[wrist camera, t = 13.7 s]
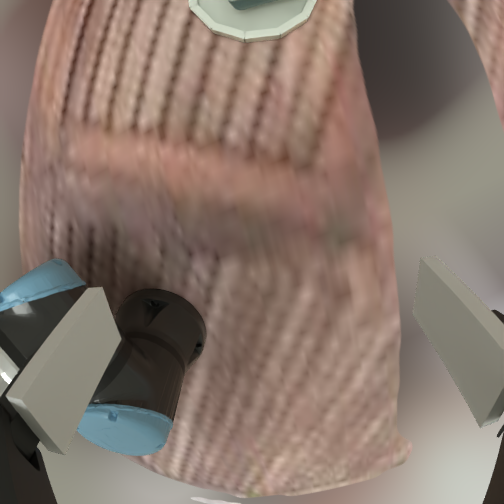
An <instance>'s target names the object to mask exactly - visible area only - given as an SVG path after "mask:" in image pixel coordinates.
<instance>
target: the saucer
mask: <svg viewBox="0 0 504 504" xmlns="http://www.w3.org/2000/svg"><path fill="white" fill-rule="evenodd" d="M188 1H189V7H190V9H191V10H192V12H193V13H194V14H195V15H196V16H197V17H198V18H199V19H200V20H201V21H202V22H203V23H204V24H205V25H206V26H207V27H208V28H209V29H210V30H211V31H212V32H213V33H214V34H218V35H221V36H224V37H228V38H231V39H234V40H237V41H240V42H244V43H245V41H246V43H250V42H257V41H265V40H274V39H279V38H282V37H283V36H285V35H287V34H288V33H290V32H291V31H293V30H294V29H296V28H298V27H299V26H301V25H302V24H304V23H306V21H307V20H308V18H309V16H310V14H311V11H312V9H313V7H314V5H315V3H316V1H317V0H277V1H273V2H269V3H265V4H262V5H258V6H255V7H251V8H248V9H245V10H237V9H235V8H234V7H233V6H232V5H231V4H230V3H229V1H228V0H188Z"/></svg>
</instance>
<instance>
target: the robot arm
mask: <svg viewBox="0 0 504 504" xmlns="http://www.w3.org/2000/svg"><path fill="white" fill-rule="evenodd" d="M413 316H414V318H415V319H416V321H417V322H418V323H419V325H420V327H421V328H422V330H423V331H424V333H425V334H426V336H427V337H428V339H429V341H430V342H431V344H432V345H433V347H434V348H435V350H436V352H437V353H438V355H439V357H440V358H441V360H442V361H443V363H444V365H445V366H446V368H447V370H448V371H449V373H450V375H451V376H452V378H453V380H454V381H455V383H456V385H457V387H458V389H459V390H460V392H461V394H462V396H463V397H464V399H465V401H466V403H467V404H468V406H469V408H470V410H471V412H472V413H473V415H474V417H475V419H476V421H477V423H478V425H479V427H480V428H482V427H485V426H487V425H489V424H492V423H494V422H496V421H498V420H499V418H500V416H501V415H502V413H503V411H504V315H503V314H502V313H500V312H498V311H497V310H490V309H489V308H488V307H487V306H486V305H485V304H484V303H483V302H482V300H481V299H480V298H479V297H478V296H477V295H476V294H475V293H474V292H473V291H472V290H471V289H470V288H469V287H468V286H467V285H466V284H465V283H464V282H463V281H462V280H461V279H460V278H459V277H457V276H456V274H455V273H453V272H452V271H451V270H450V269H449V268H448V267H447V266H446V265H445V264H444V263H443V262H442V261H441V260H439V258H438V257H436V256H432V257H423V258H420V265H419V274H418V281H417V288H416V295H415V302H414V308H413ZM205 339H206V329H205V325H204V322H203V320H202V318H201V316H200V314H199V313H198V312H197V310H196V309H195V308H194V307H193V306H192V305H191V304H190V303H189V302H187V301H186V300H185V299H183V298H181V297H180V296H178V295H176V294H173V293H171V292H168V291H164V290H159V289H145V290H141V291H137V292H135V293H133V294H131V295H130V296H129V297H128V298H126V300H125V301H124V302H123V304H122V305H121V307H120V308H119V310H118V312H117V315H116V318H115V321H114V318H113V316H112V313H111V310H110V307H109V304H108V302H107V299H106V296H105V293H104V290H103V287H94V288H88V287H87V286H86V282H85V281H82V280H81V278H80V277H79V276H78V275H77V274H76V273H75V271H74V270H73V269H72V268H71V267H70V265H69V264H68V263H67V262H66V261H64V260H62V259H51V260H49V261H47V262H45V263H43V264H41V265H40V266H38V267H36V268H35V269H33V270H31V271H30V272H28V273H27V274H25V275H24V276H22V277H21V278H19V279H18V280H16V281H15V282H14V283H12V284H11V285H9V286H8V287H7V288H5V289H4V290H3V291H2V292H0V504H57V502H56V499H55V496H54V493H53V490H52V487H51V484H50V481H49V478H48V475H47V472H46V468H45V465H44V461H43V458H42V455H41V452H40V450H39V449H38V448H37V445H38V443H39V441H41V442H42V444H43V445H44V446H45V447H46V448H47V450H48V451H51V452H55V453H58V454H62V455H65V454H66V452H67V449H68V447H69V445H70V443H71V441H72V438H73V436H74V434H75V432H76V430H77V431H78V432H79V433H80V434H81V435H82V436H83V437H84V438H86V439H88V440H89V441H90V442H92V443H94V444H96V445H98V446H100V447H102V448H104V449H107V450H110V451H113V452H116V453H121V454H125V455H134V456H143V455H150V454H153V453H155V452H158V451H159V450H161V449H162V448H163V447H164V445H165V443H166V441H167V438H168V435H169V432H170V430H171V429H172V427H173V420H174V416H175V412H176V408H177V403H178V399H179V395H180V391H181V387H182V383H183V379H184V375H185V373H186V372H187V371H188V370H189V368H190V367H191V366H192V365H193V364H194V363H195V361H196V360H197V359H198V358H199V356H200V355H201V353H202V350H203V347H204V343H205ZM503 431H504V425H503V426H502V428H501V429H500V431H499V432H498V434H497V437H500V435H501V434H502V432H503ZM483 504H504V433H503V437H502V441H501V445H500V449H499V454H498V457H497V461H496V464H495V468H494V471H493V474H492V478H491V481H490V484H489V487H488V490H487V493H486V496H485V498H484V501H483Z"/></svg>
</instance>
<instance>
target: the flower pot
mask: <svg viewBox="0 0 504 504" xmlns="http://www.w3.org/2000/svg"><path fill="white" fill-rule="evenodd" d="M228 1H229V3H230V4H231V5H232V6H233V7H234V8H235V9H237V10H245V9H248V8H251V7H255V6H258V5H262V4H265V3H269V2H273V1H277V0H228Z"/></svg>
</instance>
